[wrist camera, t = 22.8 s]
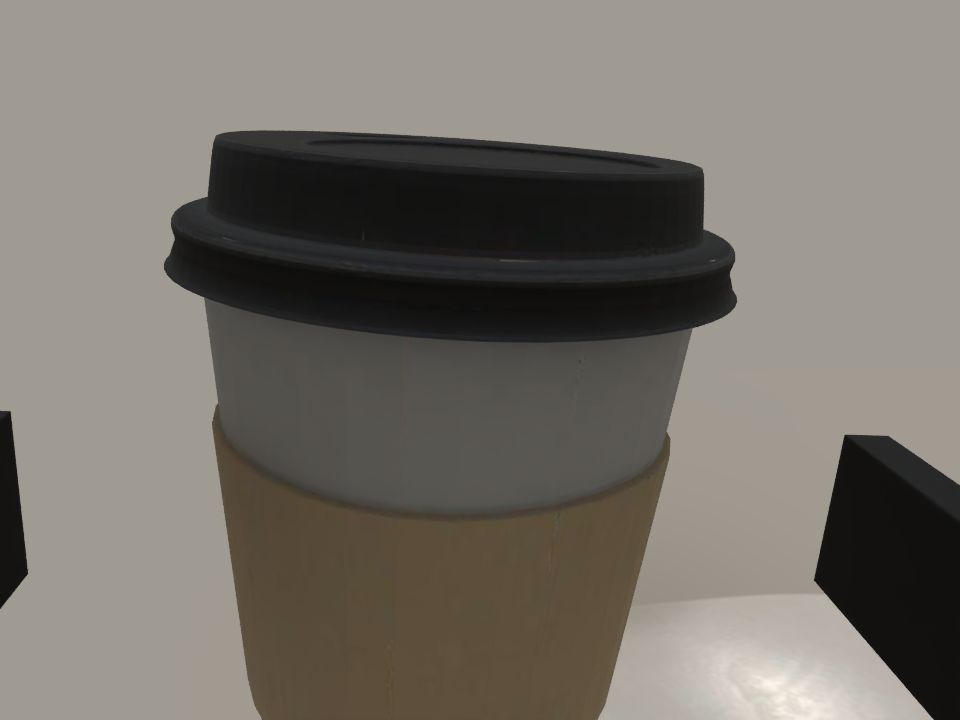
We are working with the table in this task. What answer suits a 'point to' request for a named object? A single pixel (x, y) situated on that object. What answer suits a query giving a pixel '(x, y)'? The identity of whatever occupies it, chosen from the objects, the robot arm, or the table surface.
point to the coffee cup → (442, 409)
